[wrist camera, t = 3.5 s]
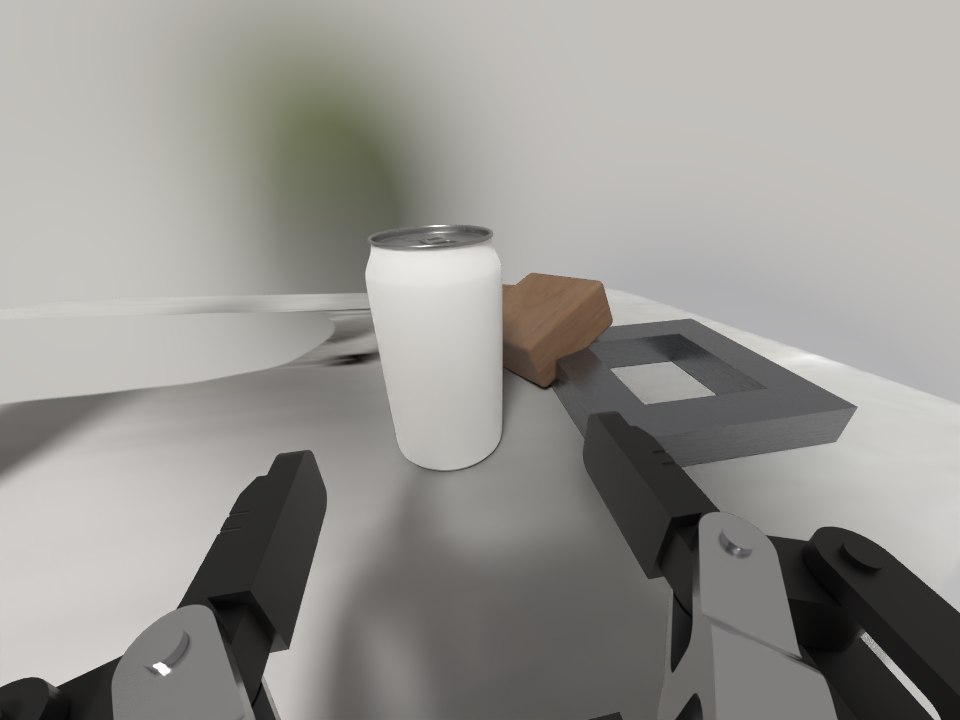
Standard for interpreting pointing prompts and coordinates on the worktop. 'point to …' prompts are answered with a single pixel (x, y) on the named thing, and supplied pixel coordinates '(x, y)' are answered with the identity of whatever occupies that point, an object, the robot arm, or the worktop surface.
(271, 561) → the robot arm
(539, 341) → the wooden blocks
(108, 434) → the worktop surface
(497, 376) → the can
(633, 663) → the worktop surface
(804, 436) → the gray square frame plate
